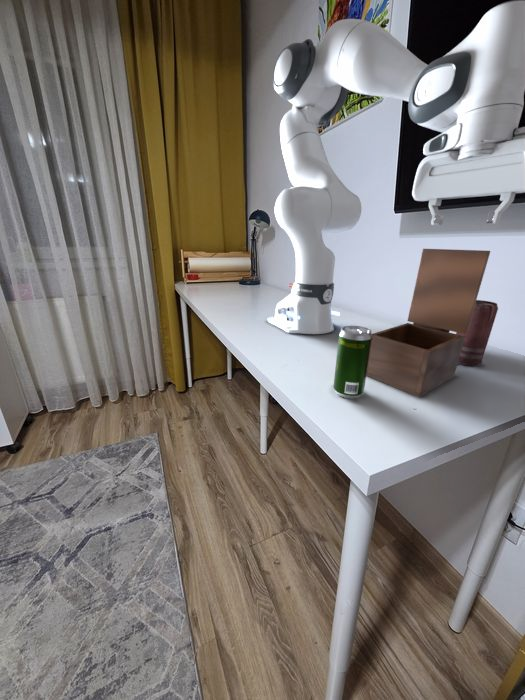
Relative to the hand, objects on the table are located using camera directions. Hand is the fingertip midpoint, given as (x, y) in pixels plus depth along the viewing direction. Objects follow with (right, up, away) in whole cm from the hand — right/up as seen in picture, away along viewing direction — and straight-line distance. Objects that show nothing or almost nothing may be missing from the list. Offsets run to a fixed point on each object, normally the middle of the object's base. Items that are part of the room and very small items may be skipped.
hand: (462, 224), depth 54 cm
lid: (-1, -12, +4) cm, 12 cm away
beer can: (-22, -32, -1) cm, 38 cm away
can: (+10, -27, +13) cm, 31 cm away
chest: (-7, -29, +6) cm, 30 cm away
